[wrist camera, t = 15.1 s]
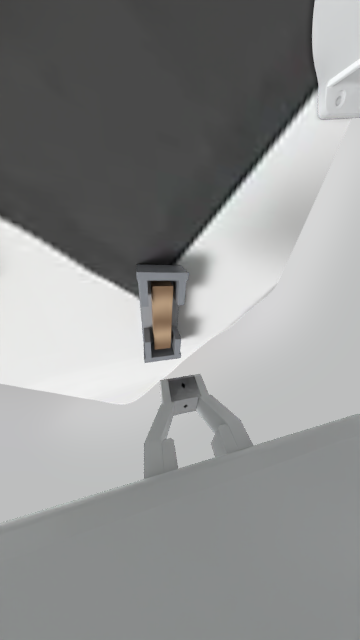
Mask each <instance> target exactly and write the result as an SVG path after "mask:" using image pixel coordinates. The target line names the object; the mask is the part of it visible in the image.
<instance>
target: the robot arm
mask: <svg viewBox="0 0 360 640" xmlns="http://www.w3.org/2000/svg"><path fill="white" fill-rule="evenodd" d="M312 48H313V59H314V65H315V70H316V74H317V79H318V86H319V89H318V116H319V118H320V119H339V118H358V117H359V118H360V0H315V4H314V12H313V26H312ZM160 391H161V402H162V404H161V406H160V408H159V410H158V413H157V415H156V417H155V420H154V422H153V424H152V427H151V429H150V431H149V434H148V436H147V438H146V441H145V443H144V479H143V480H140V481H137V482H134V483H130V484H127V485H123V486H121V487H117V488H114V489H110V490H107V491H104V492H101V493H97V494H94V495H91V496H88V497H85V498H81V499H78V500H75V501H71V502H68V503H65V504H61V505H58V506H55V507H52V508H49V509H45V510H42V511H39V512H35V513H32V514H29V515H26V516H23V517H19V518H16V519H12V520H9V521H6V522H3V523H0V640H360V414H356V415H352V416H349V417H346V418H343V419H340V420H336V421H333V422H329V423H326V424H323V425H320V426H316V427H313V428H310V429H307V430H304V431H300V432H297V433H294V434H291V435H287V436H284V437H280V438H277V439H274V440H271V441H267V442H264V443H261V444H258V445H255V446H253V444H252V442H251V440H250V438H249V436H248V434H247V432H246V430H245V428H244V426H243V424H242V422H241V420H240V419H239V418H238V417H236V416H235V415H234V414H233V413H232V412H231V411H229V410H228V409H227V408H226V407H225V406H224V405H222V404H221V403H220V402H219V401H218V400H216V399H215V398H214V397H213V396H212V395H209V394H208V391H207V389H206V386H205V384H204V381H203V379H202V377H201V375H200V374H196V375H189V376H183V377H179V378H173V379H165V380H160ZM192 411H196V412H197V413H198V414H199V415H200V416H201V418H202V419H203V420H204V421H205V422H206V424H207V425H208V426H209V427H210V428H211V429H212V430H213V432H214V433H215V436H214V438H213V440H212V442H211V445H212V449H213V451H214V455H215V458H212V459H209V460H205V461H202V462H199V463H195V464H192V465H189V466H186V467H183V468H179V469H178V465H177V459H176V452H175V446H174V440H173V439H171V438H169V439H166V438H167V435H168V431H169V428H170V425H171V422H172V418H173V416H174V415H178V414H182V413H187V412H192Z"/></svg>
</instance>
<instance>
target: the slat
mask: <svg viewBox="0 0 360 640" xmlns="http://www.w3.org/2000/svg"><path fill="white" fill-rule="evenodd" d="M151 301H152V324H153V341H154V349H155V350H156V349H165V348H171V326H172V302H173V285H172V283H171V282H170V280H160V281H151Z"/></svg>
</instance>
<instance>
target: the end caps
mask: <svg viewBox="0 0 360 640" xmlns="http://www.w3.org/2000/svg"><path fill="white" fill-rule="evenodd" d="M136 274H137V281H138V284H139V296H140V307H141V319H142V330H143V341H144V361H145V363H147V362H155V361H162V360H169V359H177V358H181V353H180V345H181V338H180V335H179V332H178V330H177V320H178V306H179V305H184V302H185V291H186V280H188V278H189V273H188V272H187V271H186V270H185V269H184V268H183V267H181V266H180V265H150V264H137V270H136ZM160 280H170V282H171V283H172V285H173V302H172V326H171V348H165V349H156V350H155V349H154V341H153V324H152V301H151V281H160Z"/></svg>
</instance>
